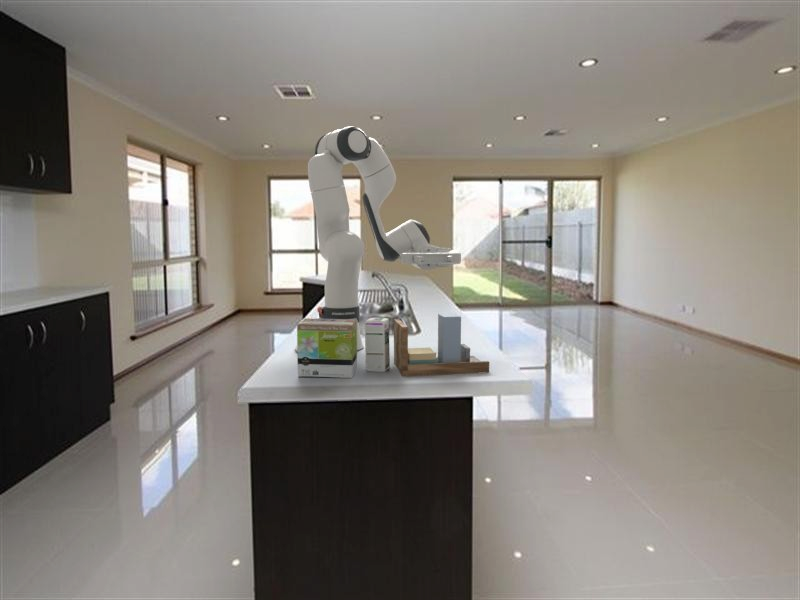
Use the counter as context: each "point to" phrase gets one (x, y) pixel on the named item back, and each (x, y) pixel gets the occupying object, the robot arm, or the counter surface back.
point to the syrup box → (377, 344)
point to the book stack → (421, 356)
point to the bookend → (466, 354)
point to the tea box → (327, 347)
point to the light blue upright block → (449, 338)
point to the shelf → (431, 368)
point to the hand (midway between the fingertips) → (436, 259)
